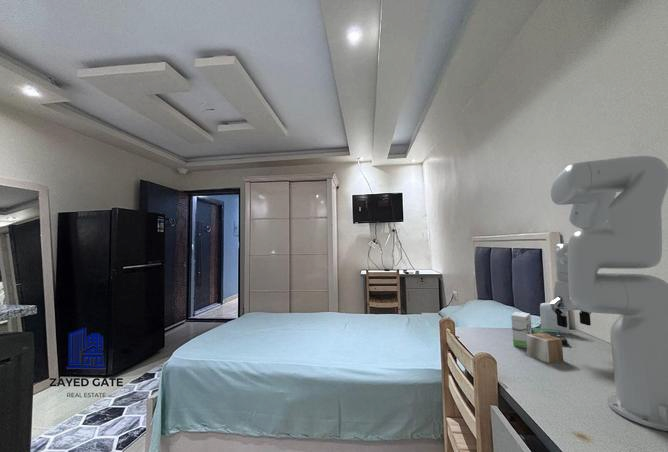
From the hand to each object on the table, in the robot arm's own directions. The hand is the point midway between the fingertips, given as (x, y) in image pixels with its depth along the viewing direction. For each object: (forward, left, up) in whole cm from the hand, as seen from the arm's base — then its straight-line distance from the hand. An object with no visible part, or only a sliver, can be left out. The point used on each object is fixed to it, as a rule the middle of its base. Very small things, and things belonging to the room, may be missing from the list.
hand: (573, 325), depth 97 cm
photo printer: (+23, -17, -10) cm, 31 cm away
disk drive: (+15, -5, -11) cm, 19 cm away
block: (0, +10, -6) cm, 12 cm away
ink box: (+11, +11, -10) cm, 19 cm away
